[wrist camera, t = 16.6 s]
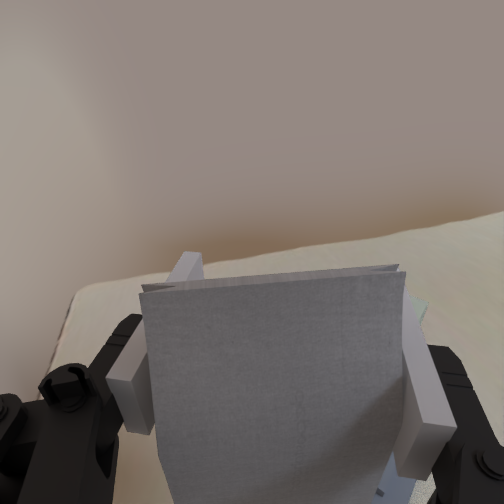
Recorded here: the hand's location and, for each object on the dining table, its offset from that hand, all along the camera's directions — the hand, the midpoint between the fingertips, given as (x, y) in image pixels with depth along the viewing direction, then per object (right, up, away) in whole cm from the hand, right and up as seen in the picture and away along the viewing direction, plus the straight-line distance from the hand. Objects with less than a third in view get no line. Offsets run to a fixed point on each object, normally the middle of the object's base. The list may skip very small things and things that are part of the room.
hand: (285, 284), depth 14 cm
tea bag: (-1, -8, -1) cm, 8 cm away
